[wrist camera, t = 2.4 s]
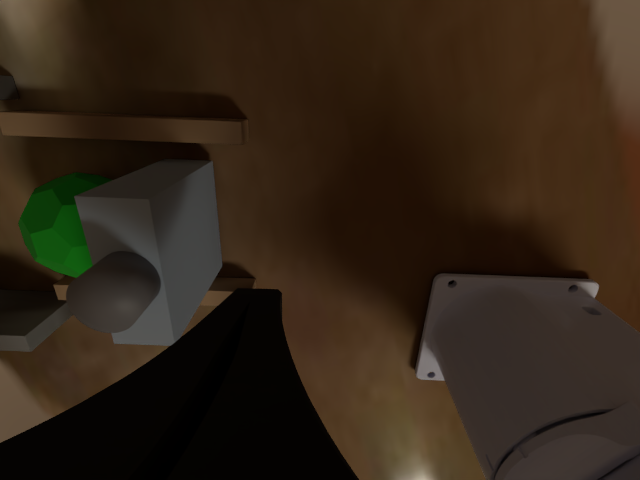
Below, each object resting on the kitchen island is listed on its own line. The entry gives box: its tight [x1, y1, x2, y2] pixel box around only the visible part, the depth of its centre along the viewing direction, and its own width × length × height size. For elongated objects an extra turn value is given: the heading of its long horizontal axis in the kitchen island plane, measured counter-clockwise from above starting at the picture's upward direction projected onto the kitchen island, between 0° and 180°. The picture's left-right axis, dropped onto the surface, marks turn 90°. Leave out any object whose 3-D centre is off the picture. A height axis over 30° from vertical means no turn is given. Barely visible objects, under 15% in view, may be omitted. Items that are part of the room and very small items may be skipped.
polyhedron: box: [18, 172, 112, 278], centre depth 16 cm, size 5×5×5 cm
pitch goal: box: [0, 75, 256, 352], centre depth 16 cm, size 18×13×4 cm
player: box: [66, 159, 222, 346], centre depth 14 cm, size 2×6×8 cm, turn 178°
